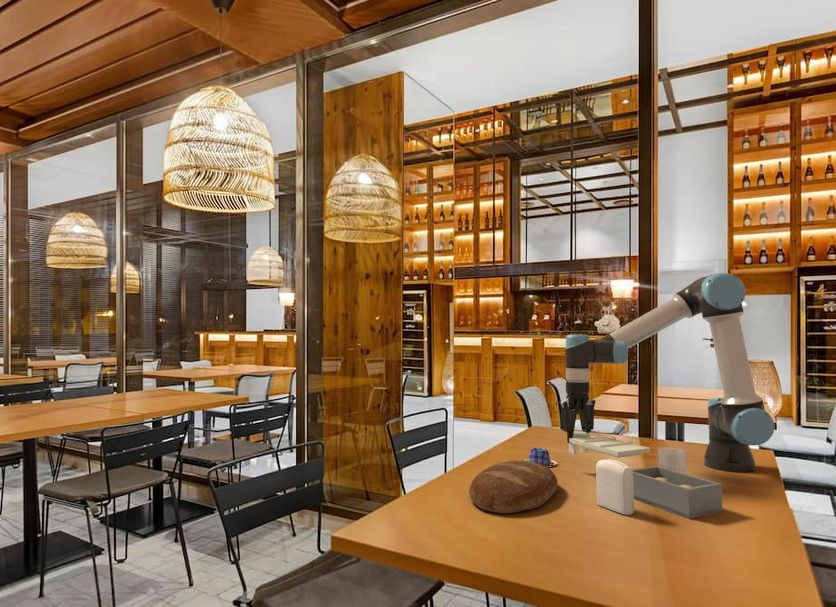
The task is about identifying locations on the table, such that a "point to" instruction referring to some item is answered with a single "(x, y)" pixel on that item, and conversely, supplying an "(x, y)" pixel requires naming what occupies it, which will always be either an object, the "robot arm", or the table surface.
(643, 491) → the tub
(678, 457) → the white cup
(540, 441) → the table surface
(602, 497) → the photo printer
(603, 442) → the lid
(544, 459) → the patterned hat
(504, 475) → the bread
